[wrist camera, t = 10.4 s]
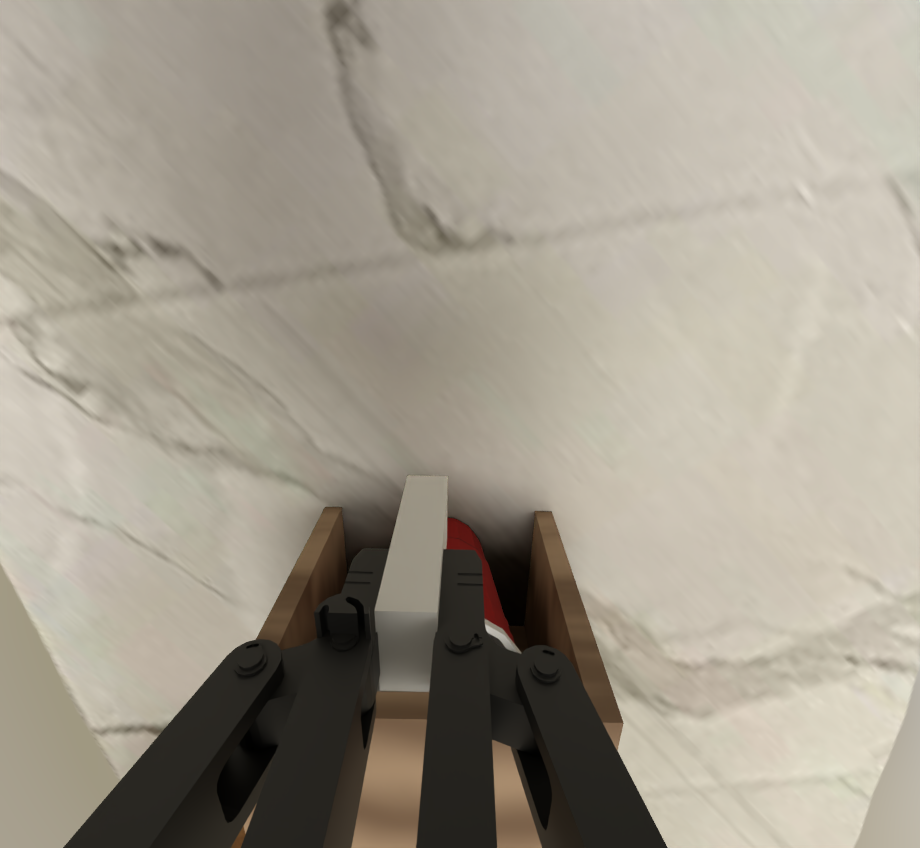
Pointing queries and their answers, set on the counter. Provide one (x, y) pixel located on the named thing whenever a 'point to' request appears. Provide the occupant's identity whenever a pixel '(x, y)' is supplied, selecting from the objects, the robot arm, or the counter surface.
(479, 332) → the counter surface
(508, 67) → the counter surface
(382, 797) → the open wooden crate
